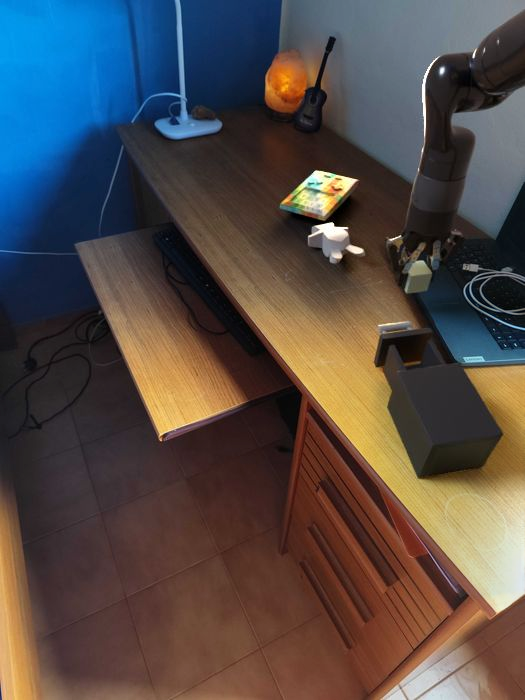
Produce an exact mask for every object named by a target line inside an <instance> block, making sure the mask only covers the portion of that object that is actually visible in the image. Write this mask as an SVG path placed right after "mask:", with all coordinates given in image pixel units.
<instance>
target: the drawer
mask: <svg viewBox="0 0 525 700" xmlns="http://www.w3.org/2000/svg"><path fill="white" fill-rule="evenodd" d="M377 332H378V333H379V336H378V337H379V338H378V342H377V347H376V352H375V355H374V360H373V364H374V367H375V368H383V371H382V372H383V375H384V377H385V380H386V381H387V384H388V386H389V388H390V391H392V388H393V385H394V381H395V378H396V374H397V372H398V371H404V370H411V369H419V368H426V367H433V366H440V365H447V362H446V361H445V359H444V358H443V355H442V354H441V352H440V351H439V349H438V347H437V345H436V344H435V342H434V341H433V339H432V337H433V333H434V331H433V330H432V328H431V327H423V328H415V329H413V325H412V322H411V320H408V321H399V322H392V323H385V324H377ZM418 362H419V363H418ZM411 363H414V364H411ZM405 364H407V365H405Z"/></svg>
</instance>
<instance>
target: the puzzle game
mask: <svg viewBox="0 0 525 700" xmlns="http://www.w3.org/2000/svg"><path fill="white" fill-rule="evenodd" d="M359 181H360V180H359V179H355V178H351V177H346V176H342V175H338V174H334V173H330V172H325V171H321V170H315V171H314V172H313V173H311V175H309V176H308V177H307V178H306V179H305V180H304V181H303V182H302V183H301V184H300V185H298V187H297V188H296V189H294V190H293V191H292V192H291V193H290V194H289V195H288V196H287V197H286V198H285V199H284V200H282V201H281V202H280V203H279V209H281V210H285V211H288V212H292V213H295V214H299V215H301V216H306V217H309V218H313V219H315V220H319V221H324V222H326V221H327V220H328V219H329V218H330V217H331V216H332V215H333V214H334V213H335V211H336V210H337V209H339V207H341V205H342V204H343V203H344V202H345V201H346V200H347V199H348V198H349V197H350V195H352V194H353V192H354V191H355V190H356V189H357V187H358V186H359Z"/></svg>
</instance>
